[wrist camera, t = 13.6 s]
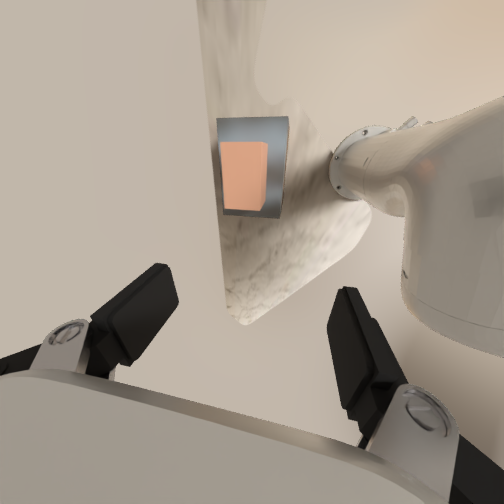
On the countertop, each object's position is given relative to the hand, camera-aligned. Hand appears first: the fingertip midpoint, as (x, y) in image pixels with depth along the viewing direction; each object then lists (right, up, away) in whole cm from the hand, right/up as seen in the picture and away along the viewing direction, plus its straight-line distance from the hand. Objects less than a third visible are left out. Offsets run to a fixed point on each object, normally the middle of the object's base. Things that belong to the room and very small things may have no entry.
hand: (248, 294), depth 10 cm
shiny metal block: (+2, +20, +28) cm, 35 cm away
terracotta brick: (0, +15, +18) cm, 23 cm away
